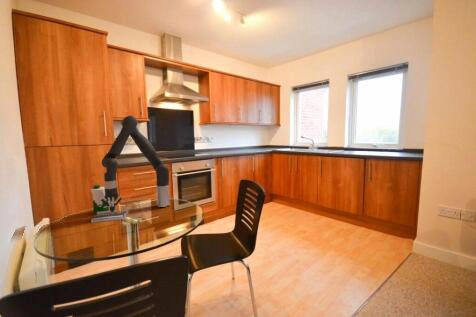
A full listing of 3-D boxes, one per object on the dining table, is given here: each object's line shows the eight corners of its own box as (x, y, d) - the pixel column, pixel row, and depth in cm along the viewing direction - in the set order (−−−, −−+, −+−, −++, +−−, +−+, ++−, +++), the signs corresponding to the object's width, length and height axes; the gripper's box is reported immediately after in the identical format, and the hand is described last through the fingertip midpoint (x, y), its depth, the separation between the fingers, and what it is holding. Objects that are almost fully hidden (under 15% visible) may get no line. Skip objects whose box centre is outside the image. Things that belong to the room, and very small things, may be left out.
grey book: (127, 210, 156) (127, 208, 156) (123, 217, 144) (123, 214, 144) (97, 213, 151) (97, 211, 151) (91, 220, 139) (91, 218, 138)
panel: (128, 212, 157) (128, 210, 157) (125, 219, 145) (125, 216, 144) (97, 215, 151) (97, 213, 151) (91, 222, 139) (90, 220, 138)
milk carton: (99, 209, 162) (97, 184, 159) (111, 209, 161) (109, 184, 159) (91, 214, 153) (88, 187, 150) (103, 214, 153) (101, 187, 150)
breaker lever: (123, 212, 151) (122, 203, 150) (122, 214, 148) (121, 205, 148) (116, 213, 150) (115, 204, 149) (115, 214, 147) (114, 205, 146)
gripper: (122, 185, 151) (124, 208, 153) (101, 186, 147) (103, 210, 149) (120, 187, 144) (122, 212, 146) (98, 189, 140) (99, 214, 142)
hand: (112, 211), depth 148 cm, fingers closed
